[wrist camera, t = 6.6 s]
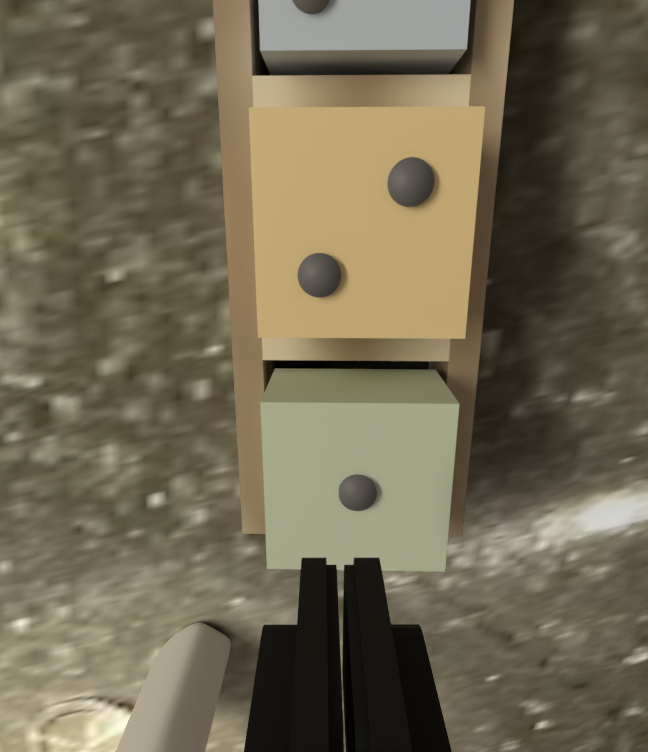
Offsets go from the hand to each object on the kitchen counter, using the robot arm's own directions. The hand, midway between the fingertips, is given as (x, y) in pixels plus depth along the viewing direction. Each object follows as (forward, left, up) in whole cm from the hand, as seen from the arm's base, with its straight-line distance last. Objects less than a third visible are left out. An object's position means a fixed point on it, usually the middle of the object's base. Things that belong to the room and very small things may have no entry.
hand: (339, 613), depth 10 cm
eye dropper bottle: (+8, +15, -13) cm, 21 cm away
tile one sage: (-1, 0, -9) cm, 9 cm away
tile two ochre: (-1, -8, -9) cm, 12 cm away
